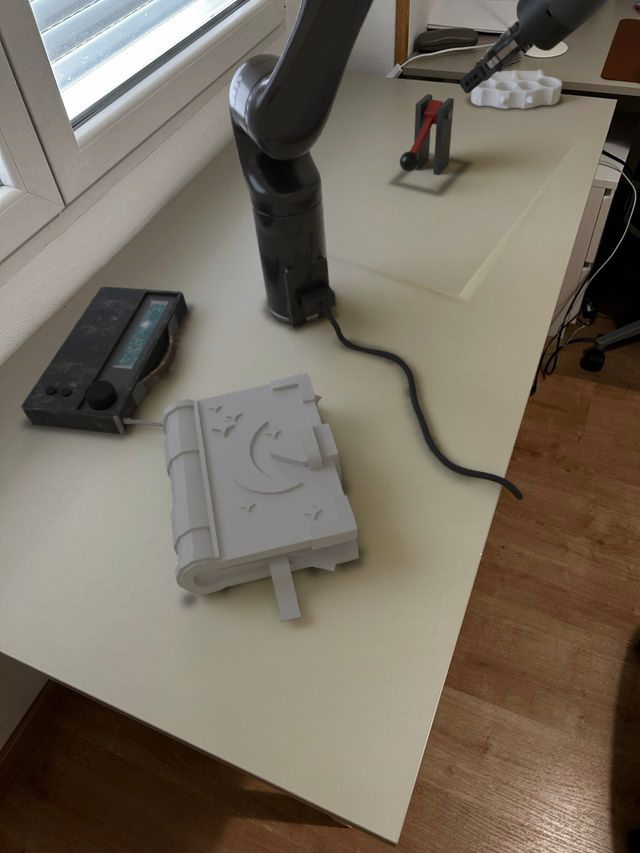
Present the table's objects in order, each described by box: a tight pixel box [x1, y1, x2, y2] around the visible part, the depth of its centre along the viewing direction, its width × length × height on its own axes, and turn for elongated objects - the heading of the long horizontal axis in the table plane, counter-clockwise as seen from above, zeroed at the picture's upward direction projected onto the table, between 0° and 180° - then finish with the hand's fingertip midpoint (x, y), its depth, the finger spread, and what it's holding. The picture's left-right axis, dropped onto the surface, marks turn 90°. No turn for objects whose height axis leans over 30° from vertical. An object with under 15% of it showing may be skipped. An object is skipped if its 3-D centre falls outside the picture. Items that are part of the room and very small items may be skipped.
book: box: [161, 372, 360, 623], centre depth 69 cm, size 19×28×8 cm
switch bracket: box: [413, 93, 455, 176], centre depth 114 cm, size 12×9×13 cm
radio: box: [20, 286, 189, 435], centre depth 88 cm, size 25×4×20 cm
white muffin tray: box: [470, 69, 563, 110], centre depth 136 cm, size 3×18×15 cm
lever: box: [399, 98, 444, 173], centre depth 110 cm, size 13×3×3 cm, turn 148°
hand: (464, 86), depth 95 cm, fingers closed
